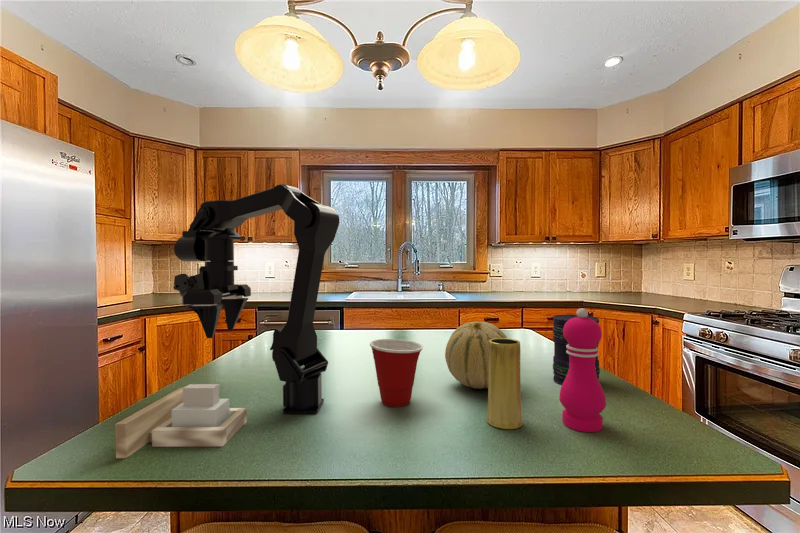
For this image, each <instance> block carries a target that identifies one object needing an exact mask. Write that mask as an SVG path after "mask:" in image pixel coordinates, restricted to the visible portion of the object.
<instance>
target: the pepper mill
mask: <svg viewBox="0 0 800 533" xmlns="http://www.w3.org/2000/svg"><path fill="white" fill-rule="evenodd" d="M575 315H577V316H578V317H575V318H572V319H570V320H568V321H567V322H566V323H565V325H564V328H563V335H564V338H565V339H566V340H567V342H568V344H567V345H566V347H567V350H566V353H567V354H569V360H570V362H569V370H568V374H567V376H566V378H565V380H564V382H563V384H562V385H560V386H561V387H560V389H559V390H560V391H559V396H558V397H559V402H560V404H561V405H562V406H563V408H564V409H563V410H562V419H561V420H562V423H563V425H565V426H566V427H568V428H569V429H572V430H574V431H578V432H584V433H597V432H600V431H602V430H603V428H604V420H603V419H604V417H603V416H602V415H601V413H602V412H603V411H604V410H605V409H606V406H607V398H606V394H605V391H604V389H603V387H602V384H601V383H600V381H599V379H598V378H597V375H596V370H595V360H596V356H598V357H599V355H600V354H599V349H600V348H599V346H598V347H597V346H596V345H597V344H598V343H599V344H600V342H601V340H602V336H603V332H602V327H601V326H600V324H599V323H597V322H596V321H594V320H592V319H590V318H586V317H587V316H589V313H588V310H587V309H586V308H583V307H582V308H578V309H576V313H575ZM599 344H598V345H599Z"/></svg>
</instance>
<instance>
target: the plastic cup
mask: <svg viewBox="0 0 800 533" xmlns="http://www.w3.org/2000/svg"><path fill="white" fill-rule="evenodd" d="M369 346H370V347H371V351H372V357H373V361H374V366H375V374H376V379H377V386H378V389H379V395H380V400H381V403H382V404H383V405H384V406H386V407H394V408H400V407H405V406H407V405H409V404H410V402H411V399H412V393H413V387H414V384H415V383H414V382H415V378H416V372H417V365H418V360H419V356H420V353H422V352H421V351H423V348H424V345H422V344H421V343H420V342H417V341H413V340H408V339H399V338H397V339H396V338H380V339H379V338H378V339H374V340H371V341H370V342H369Z"/></svg>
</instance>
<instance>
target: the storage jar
mask: <svg viewBox="0 0 800 533" xmlns="http://www.w3.org/2000/svg"><path fill="white" fill-rule="evenodd" d="M575 317H578V316H577V314H555V315H553V316H552V318H553V319H552V320H553V322H552V324H553V325H552V333H553V334H552V340H553V342H554V344H553V345H554V350H553V351H554V352H553V353H554V355H553V357H552V358H553V359H552V360H553V361H552V362H553V363H552V372H553V382H554V383H555V384H557V385H560V386H562V384H563V382H564V380H565V378H566V376H567V374H568V370H569V362H570V360H569V354H567V353H566V350H567V347H566V345H567V344H568V342H567V340H566V339H565V338H564V335H563V328H564V325H565V323H566V322H567V321H568V320H570V319H572V318H575ZM586 318H590V319H592V320H594V321H596V322H597V323H598V324H599V323H600V318H599V317H597V316H592V315H587V317H586ZM599 344H600V342H599V343H598V344H597V345H596V346H597V347H598V348H599ZM595 370H596V375H597V378H598V380H599V379H600V370H601V369H600V360H599V355H598V356H596V360H595Z"/></svg>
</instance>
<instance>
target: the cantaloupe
mask: <svg viewBox="0 0 800 533" xmlns="http://www.w3.org/2000/svg"><path fill="white" fill-rule="evenodd" d="M495 338H508V337H507V336H506V334H505V333H504V332H503V331H502V330H501V329H500V328H499V327H498V326H496V325H494V324H493V323H490V322H487V321H471V322H466V323H464V324H461V325H460V326H458V327H457V328H456V329H455V330H454V331H453V332H452V334H450V337H449V339H448V341H447V343H446V346H445V353H444V358H445V363H446V366H447V369H448V372H449V373H450V374H451V375H452V377H453V378H455V380H456V381H457V382H459V383H461V384H462V385H463V386H465V387H468V388H473V389H477V390H478V389H479V390H482V389H488V383H489V340H491V339H495Z"/></svg>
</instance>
